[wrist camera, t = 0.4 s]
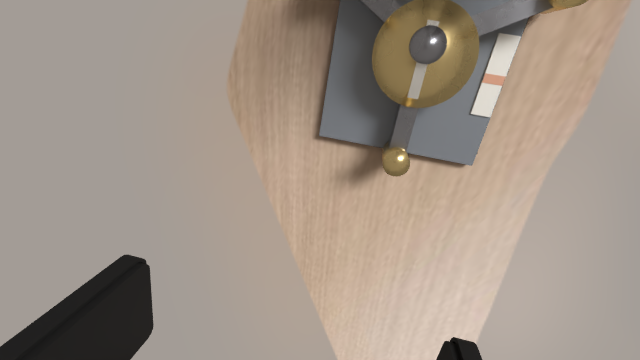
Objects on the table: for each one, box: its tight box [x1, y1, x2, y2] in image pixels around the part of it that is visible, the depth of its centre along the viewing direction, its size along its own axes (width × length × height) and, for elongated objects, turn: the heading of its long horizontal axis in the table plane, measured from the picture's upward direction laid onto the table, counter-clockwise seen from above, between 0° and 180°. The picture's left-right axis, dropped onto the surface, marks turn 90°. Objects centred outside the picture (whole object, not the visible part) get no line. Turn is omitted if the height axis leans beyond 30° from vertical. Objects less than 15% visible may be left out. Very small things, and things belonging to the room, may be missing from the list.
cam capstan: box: [358, 0, 588, 176], centre depth 26 cm, size 17×20×4 cm
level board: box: [319, 0, 529, 166], centre depth 28 cm, size 20×16×1 cm
